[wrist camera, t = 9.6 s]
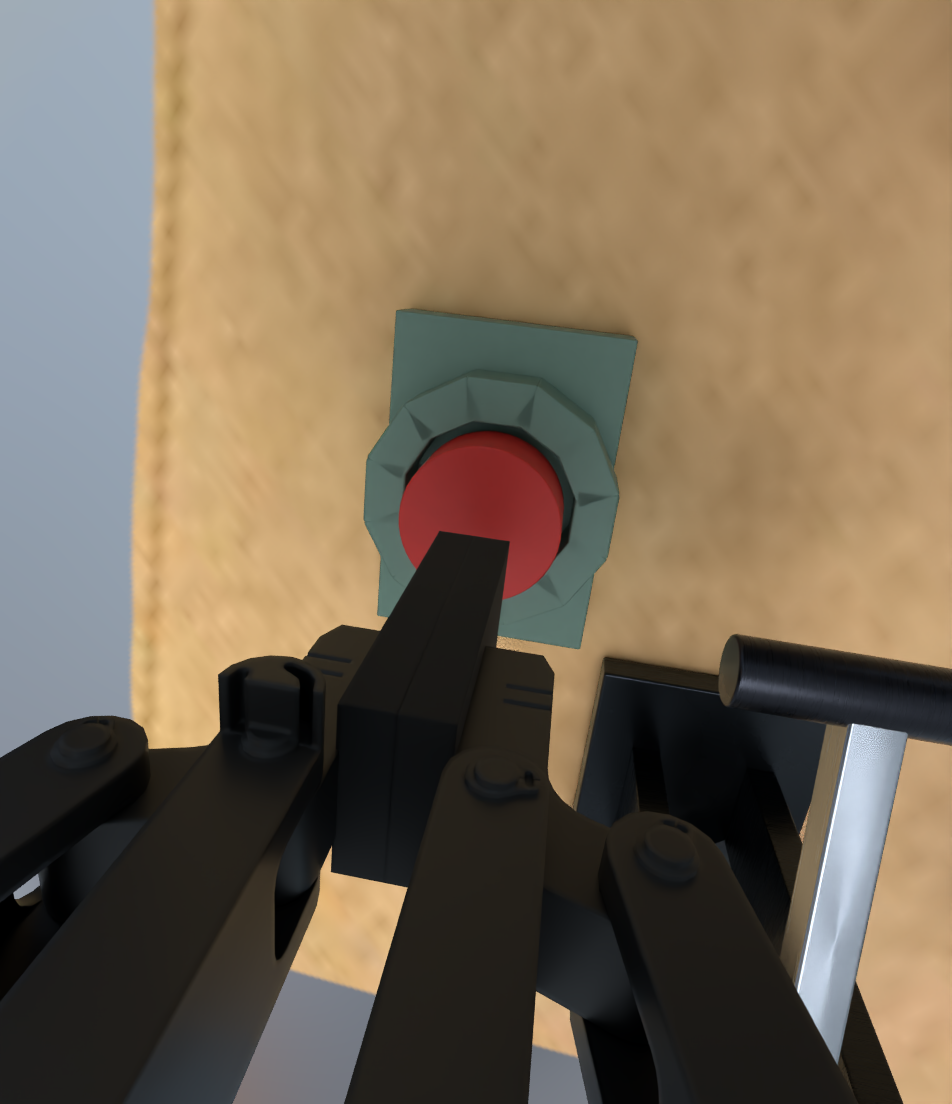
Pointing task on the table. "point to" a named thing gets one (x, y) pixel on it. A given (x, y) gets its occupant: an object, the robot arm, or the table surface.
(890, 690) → the lever
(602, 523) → the button box
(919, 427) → the table surface
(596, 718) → the bracket
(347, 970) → the table surface
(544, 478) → the button
